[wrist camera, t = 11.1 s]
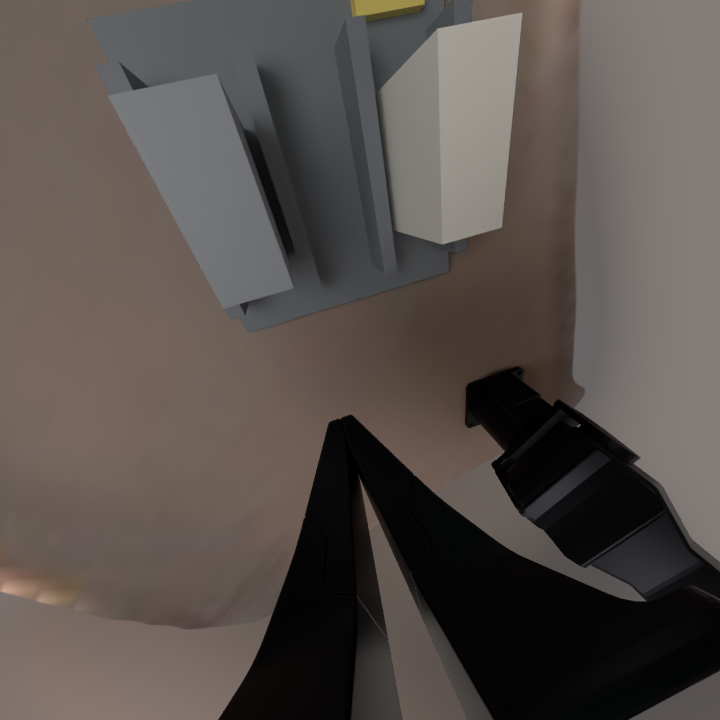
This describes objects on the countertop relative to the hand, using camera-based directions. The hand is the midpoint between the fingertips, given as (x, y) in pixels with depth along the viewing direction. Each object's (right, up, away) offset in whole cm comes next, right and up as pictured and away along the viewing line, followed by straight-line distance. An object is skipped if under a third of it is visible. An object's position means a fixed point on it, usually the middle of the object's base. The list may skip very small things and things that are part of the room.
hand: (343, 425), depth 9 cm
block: (+3, +14, +6) cm, 15 cm away
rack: (-2, +13, +6) cm, 14 cm away
